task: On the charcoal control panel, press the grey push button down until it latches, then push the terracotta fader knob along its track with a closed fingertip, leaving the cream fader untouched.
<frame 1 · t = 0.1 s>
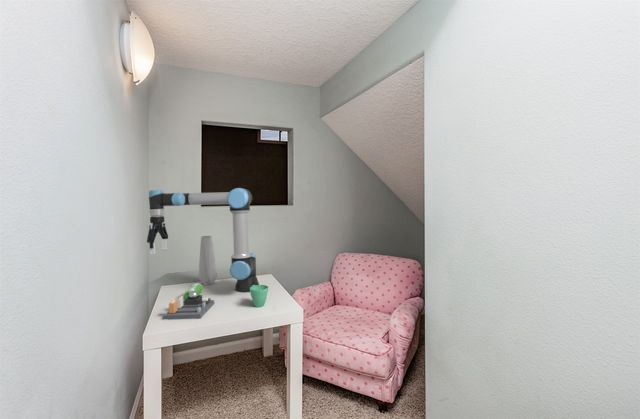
hand: (158, 251, 184), 28 cm above the table, fingers open, 13 cm apart
vase: (208, 283, 214), on the table
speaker: (193, 299, 182), on the table
fader a: (173, 306, 155), point 5 cm above the table, slide at 0.0 cm
button: (193, 295, 169), point 6 cm above the table, slide at 0.0 cm
panel: (190, 311, 162), on the table
mug: (257, 304, 170), on the table
fader b: (179, 301, 162), point 5 cm above the table, slide at 0.0 cm
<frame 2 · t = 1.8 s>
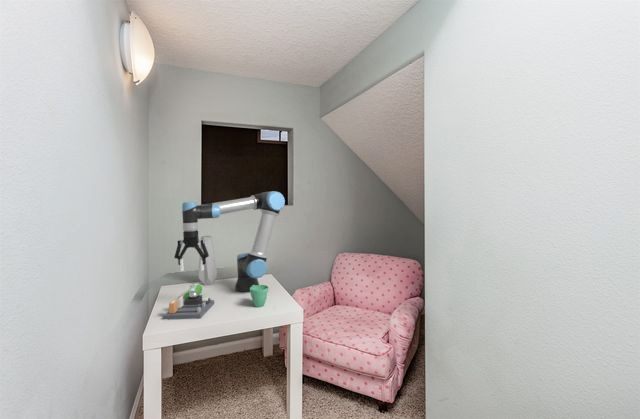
hand: (192, 270, 168), 20 cm above the table, fingers open, 10 cm apart
nothing on the table moved.
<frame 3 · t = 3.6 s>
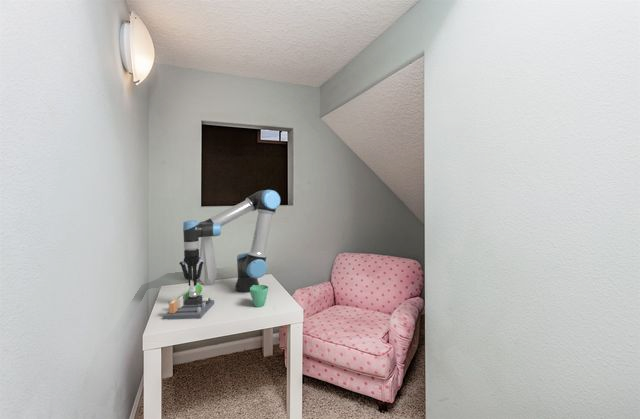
hand: (193, 291, 169), 8 cm above the table, fingers closed
button: (193, 295, 169), point 6 cm above the table, slide at 0.0 cm, touching gripper
everything else where it was.
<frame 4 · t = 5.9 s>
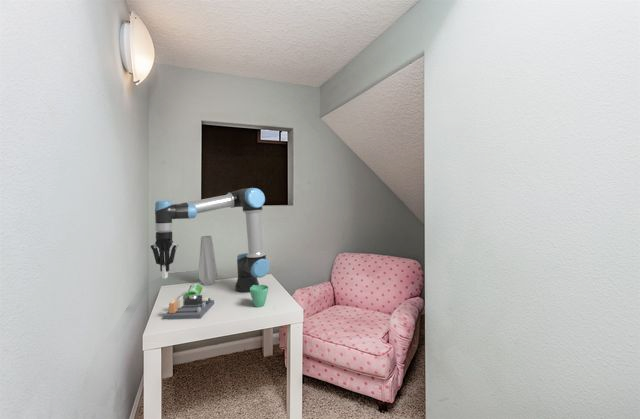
hand: (165, 277, 156), 19 cm above the table, fingers closed
button: (193, 298, 169), point 4 cm above the table, slide at 1.8 cm
everything else where it was.
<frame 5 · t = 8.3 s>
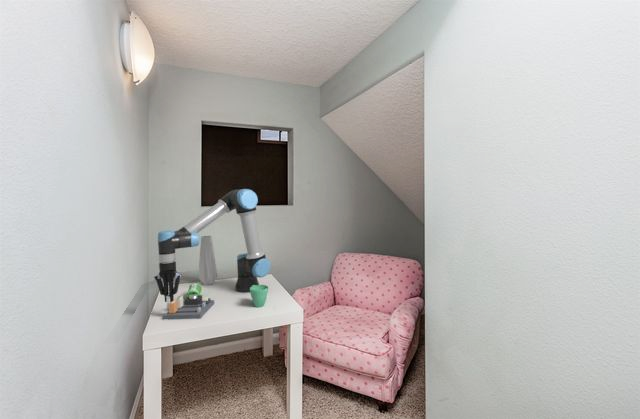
hand: (169, 307, 155), 4 cm above the table, fingers closed
fader a: (173, 306, 155), point 5 cm above the table, slide at 0.1 cm, touching gripper
everything else where it was.
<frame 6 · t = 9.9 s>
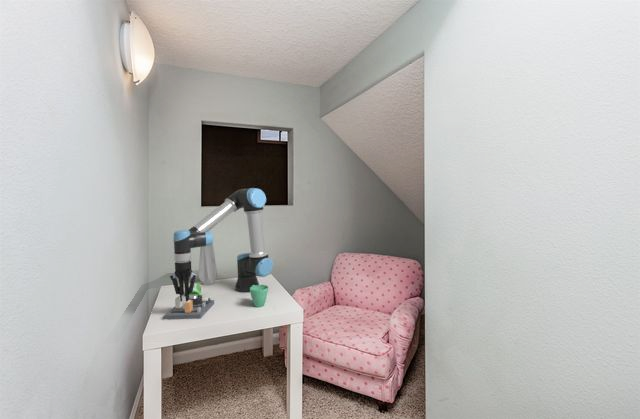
hand: (185, 307, 156), 4 cm above the table, fingers closed
fader a: (188, 306, 155), point 5 cm above the table, slide at 7.8 cm, touching gripper
everything else where it was.
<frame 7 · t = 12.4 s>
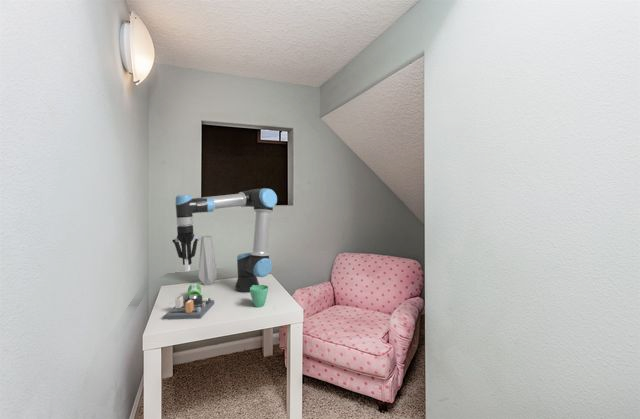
hand: (187, 270, 159), 22 cm above the table, fingers closed
fader a: (189, 306, 155), point 5 cm above the table, slide at 8.2 cm
everything else where it was.
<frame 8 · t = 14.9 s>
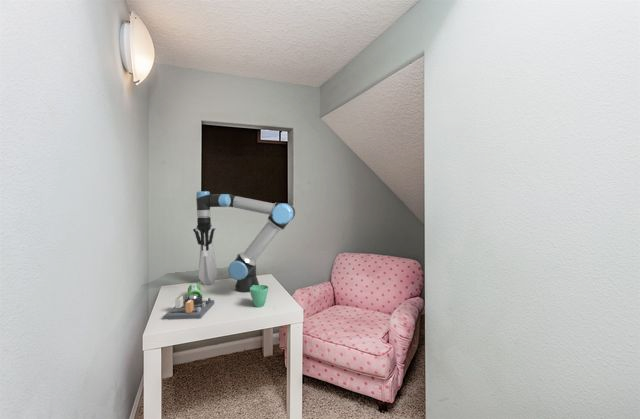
hand: (205, 255, 186), 24 cm above the table, fingers closed
at the end: fader a slide at 8.2 cm; button slide at 1.8 cm; fader b slide at 0.0 cm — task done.
